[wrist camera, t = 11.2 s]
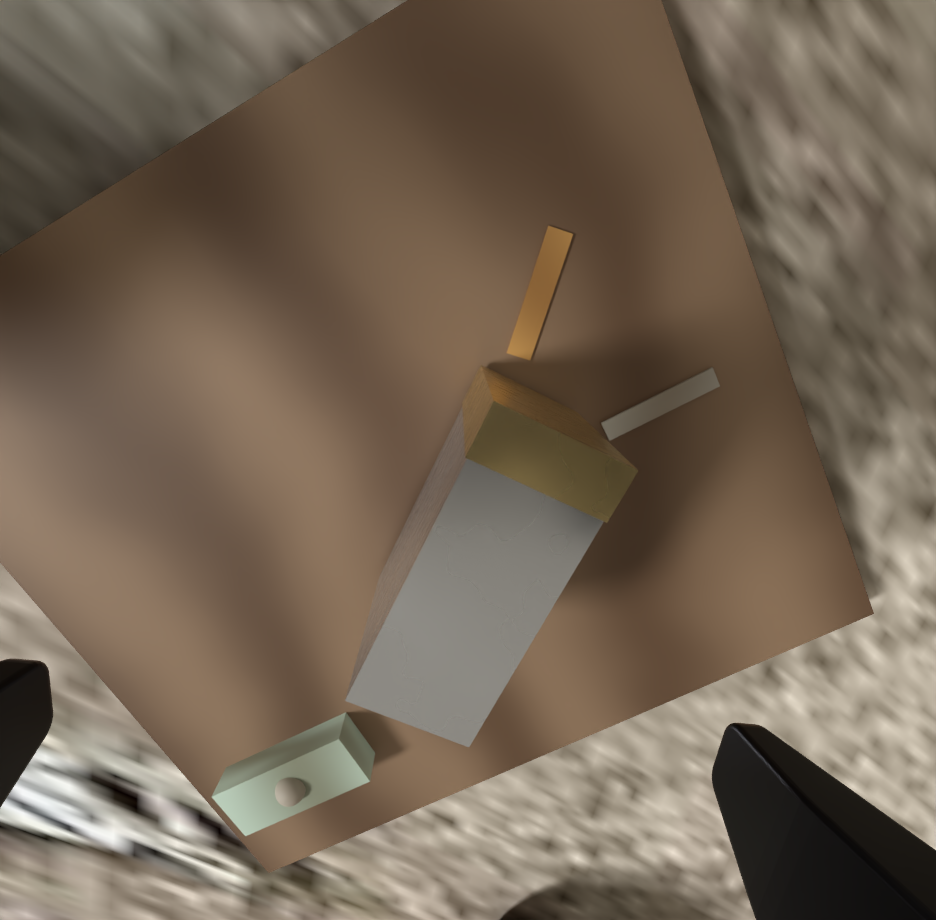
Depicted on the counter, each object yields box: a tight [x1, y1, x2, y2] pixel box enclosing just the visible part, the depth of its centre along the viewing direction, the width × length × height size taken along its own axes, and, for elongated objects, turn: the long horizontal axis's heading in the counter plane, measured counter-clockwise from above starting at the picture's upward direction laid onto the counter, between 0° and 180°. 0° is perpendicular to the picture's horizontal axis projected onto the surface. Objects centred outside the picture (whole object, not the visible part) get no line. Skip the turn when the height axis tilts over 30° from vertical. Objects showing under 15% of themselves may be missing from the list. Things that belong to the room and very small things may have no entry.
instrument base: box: [0, 0, 874, 873], centre depth 16 cm, size 24×22×3 cm
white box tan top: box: [345, 365, 638, 747], centre depth 14 cm, size 7×3×6 cm, turn 154°
